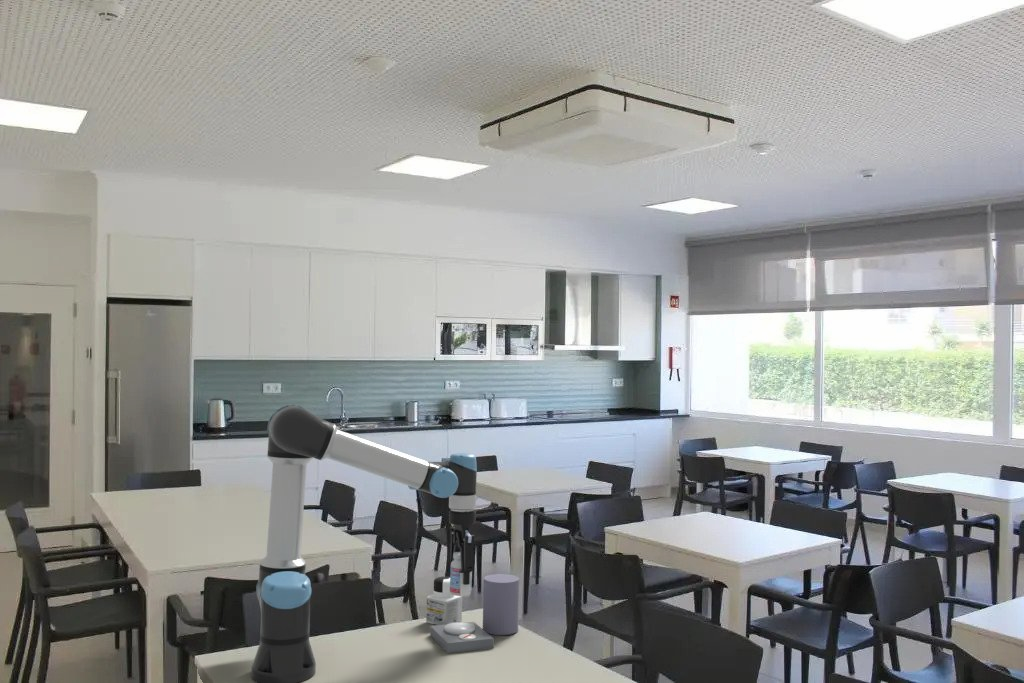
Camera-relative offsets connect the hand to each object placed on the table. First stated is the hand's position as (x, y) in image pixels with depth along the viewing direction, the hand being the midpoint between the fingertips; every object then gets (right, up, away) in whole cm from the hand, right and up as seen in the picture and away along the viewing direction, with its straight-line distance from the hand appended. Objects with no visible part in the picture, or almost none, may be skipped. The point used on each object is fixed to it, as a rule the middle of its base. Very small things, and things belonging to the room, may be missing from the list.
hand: (461, 592), depth 236 cm
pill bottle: (0, -1, 0) cm, 1 cm away
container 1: (-6, -14, +16) cm, 22 cm away
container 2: (+11, -14, +9) cm, 20 cm away
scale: (0, -13, -2) cm, 13 cm away
